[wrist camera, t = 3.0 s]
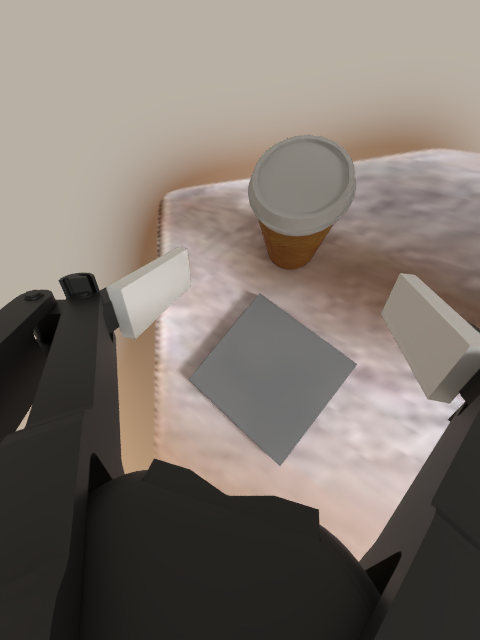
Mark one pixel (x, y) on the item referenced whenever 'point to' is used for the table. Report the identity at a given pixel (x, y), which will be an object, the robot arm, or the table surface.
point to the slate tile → (272, 376)
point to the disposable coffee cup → (300, 195)
